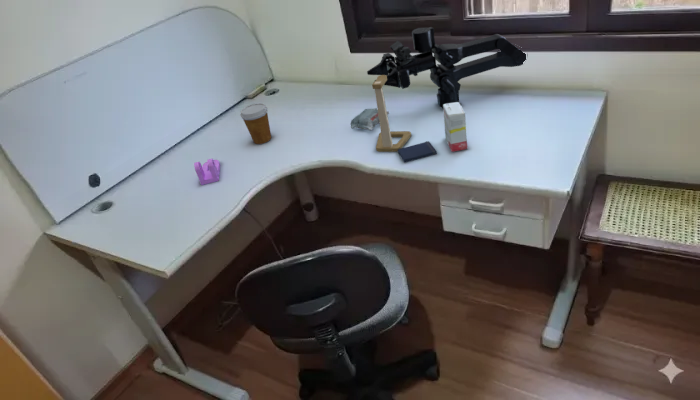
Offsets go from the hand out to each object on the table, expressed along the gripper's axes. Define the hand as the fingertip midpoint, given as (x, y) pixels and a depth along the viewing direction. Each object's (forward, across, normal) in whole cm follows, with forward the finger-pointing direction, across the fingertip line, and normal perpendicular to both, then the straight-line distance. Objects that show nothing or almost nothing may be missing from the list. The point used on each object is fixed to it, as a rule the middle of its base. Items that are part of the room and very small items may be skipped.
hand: (371, 77), depth 166 cm
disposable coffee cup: (+40, -13, +16) cm, 45 cm away
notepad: (-4, +26, +17) cm, 31 cm away
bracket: (+58, +2, +15) cm, 60 cm away
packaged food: (+3, -1, +17) cm, 17 cm away
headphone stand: (+1, +15, +17) cm, 23 cm away
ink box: (-16, +27, +17) cm, 36 cm away
